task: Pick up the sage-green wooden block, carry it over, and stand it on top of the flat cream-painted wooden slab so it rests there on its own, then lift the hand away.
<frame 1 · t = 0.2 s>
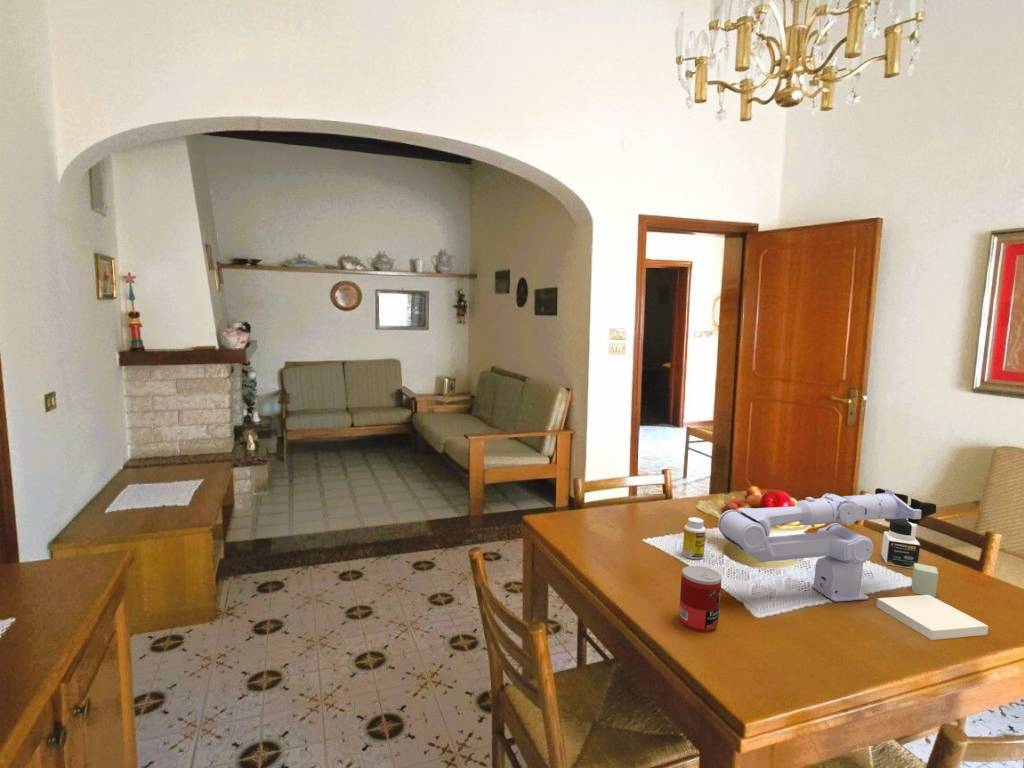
hand: (920, 503, 141), 21 cm above the table, tool horizontal, fingers open, 7 cm apart
medicine bottle: (898, 563, 160), on the table
cream slab: (929, 622, 128), on the table
sage block: (923, 591, 142), on the table
supplement bottle: (693, 556, 159), on the table
canned food: (697, 624, 124), on the table
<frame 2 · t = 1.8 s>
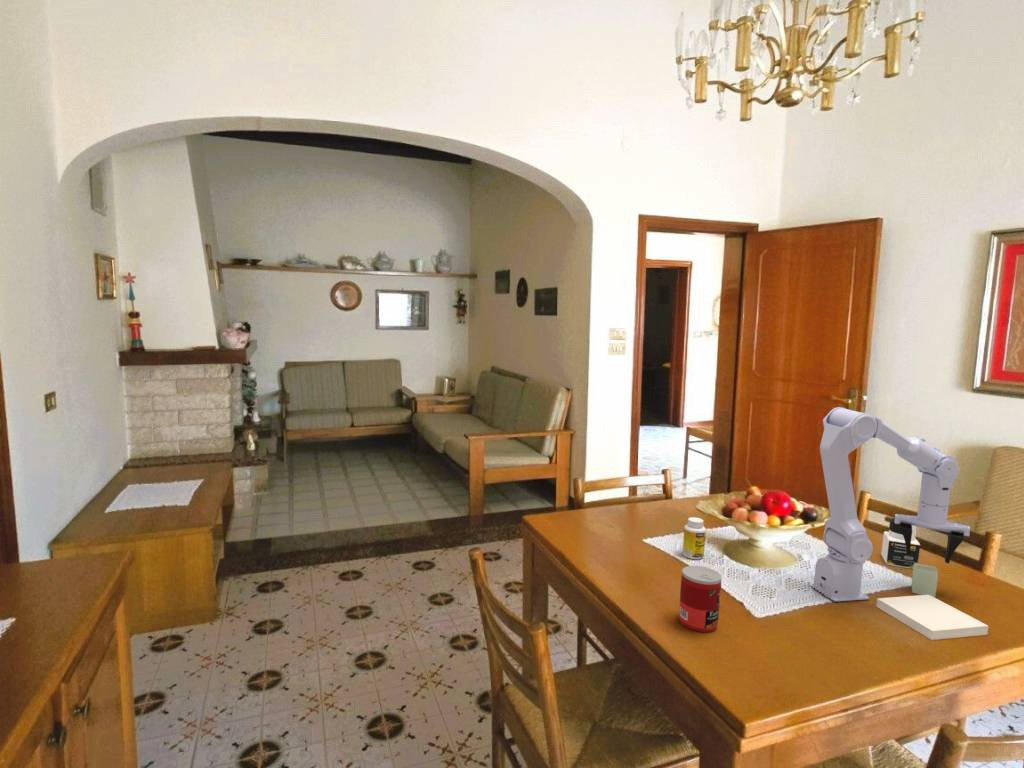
hand: (927, 557, 141), 9 cm above the table, tool pointing down, fingers open, 7 cm apart
nothing on the table moved.
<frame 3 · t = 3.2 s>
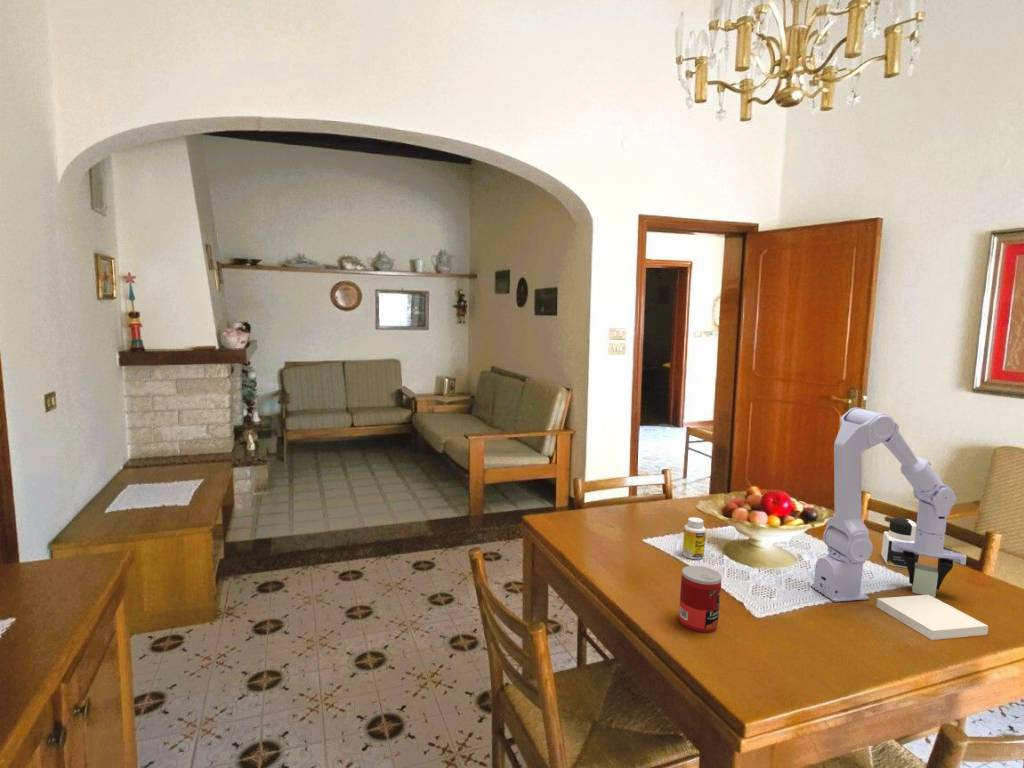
hand: (923, 585, 142), 2 cm above the table, tool pointing down, fingers closed on sage block, 4 cm apart
sage block: (923, 591, 142), on the table, touching gripper
everything else where it was.
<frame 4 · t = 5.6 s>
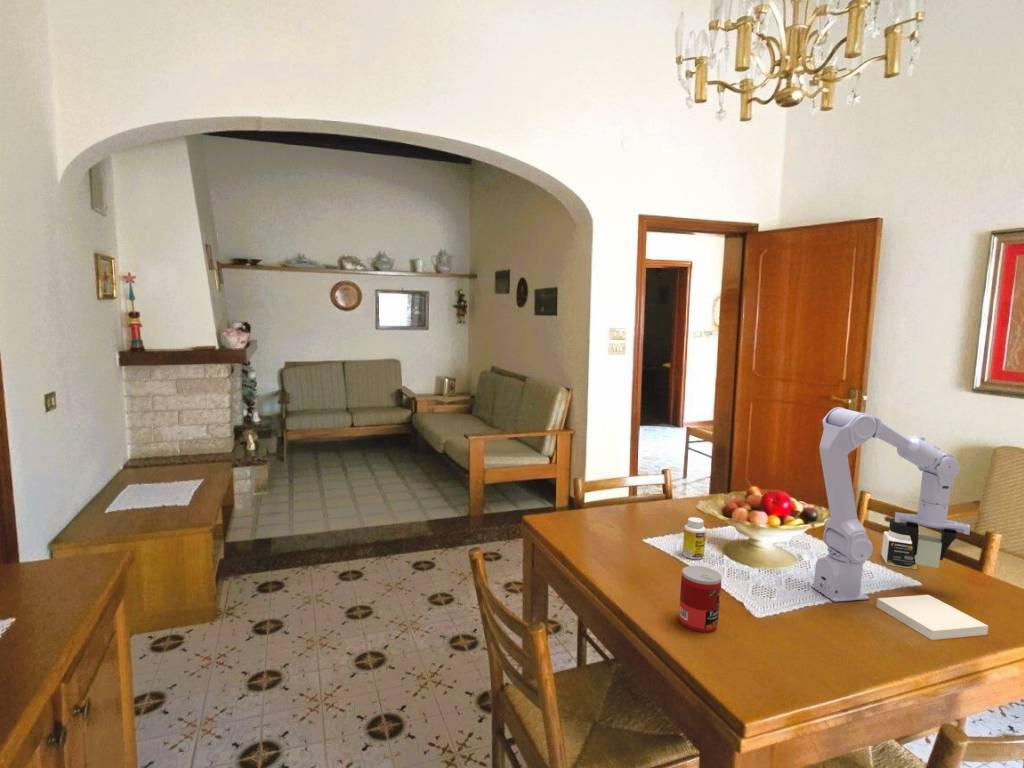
hand: (927, 556, 141), 9 cm above the table, tool pointing down, fingers closed on sage block, 4 cm apart
sage block: (926, 562, 141), point 7 cm above the table, touching gripper
everything else where it was.
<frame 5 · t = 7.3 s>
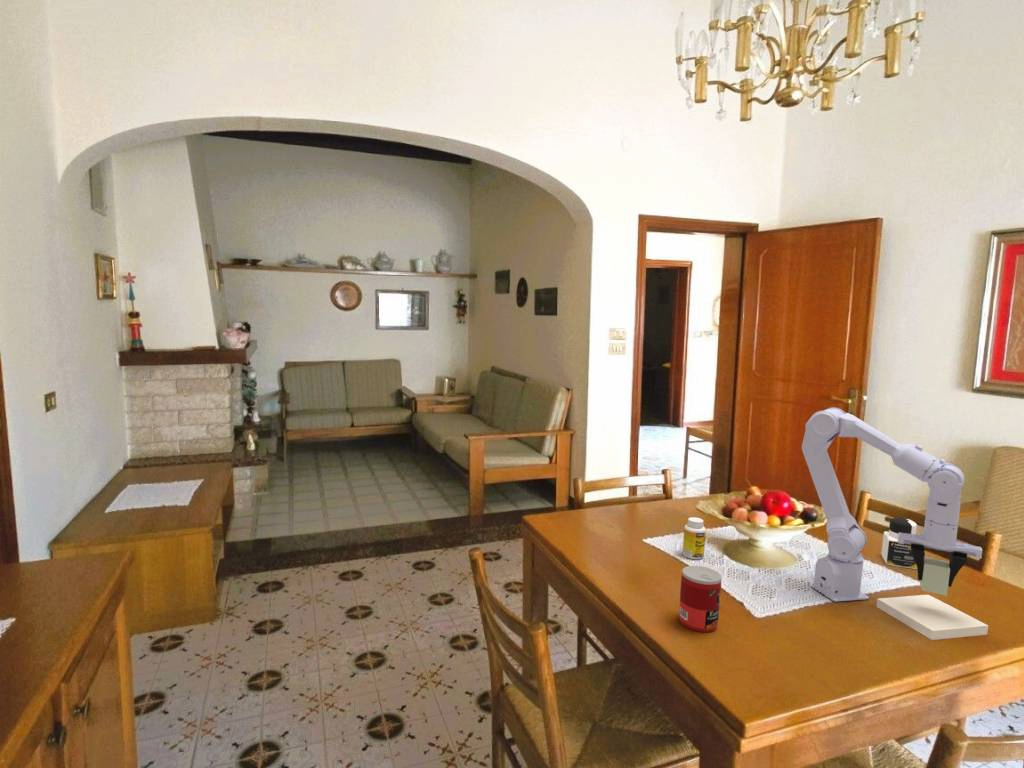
hand: (934, 581, 127), 9 cm above the table, tool pointing down, fingers closed on sage block, 4 cm apart
sage block: (933, 589, 128), point 7 cm above the table, touching gripper
everything else where it was.
when the fingers open (6 cm above the table, at t = 8.4 s): sage block drops 2 cm, resting on cream slab.
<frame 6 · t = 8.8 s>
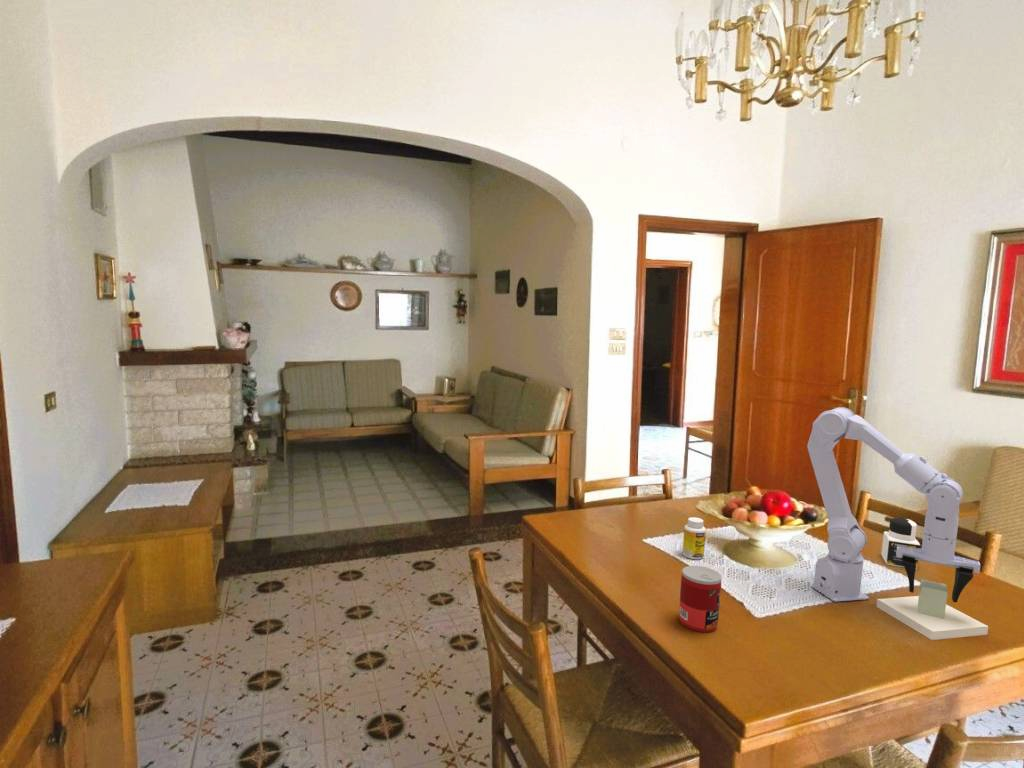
hand: (932, 595, 128), 6 cm above the table, tool pointing down, fingers open, 7 cm apart
cream slab: (929, 623, 128), on the table, touching sage block
sage block: (930, 611, 128), point 2 cm above the table, touching cream slab
everything else where it was.
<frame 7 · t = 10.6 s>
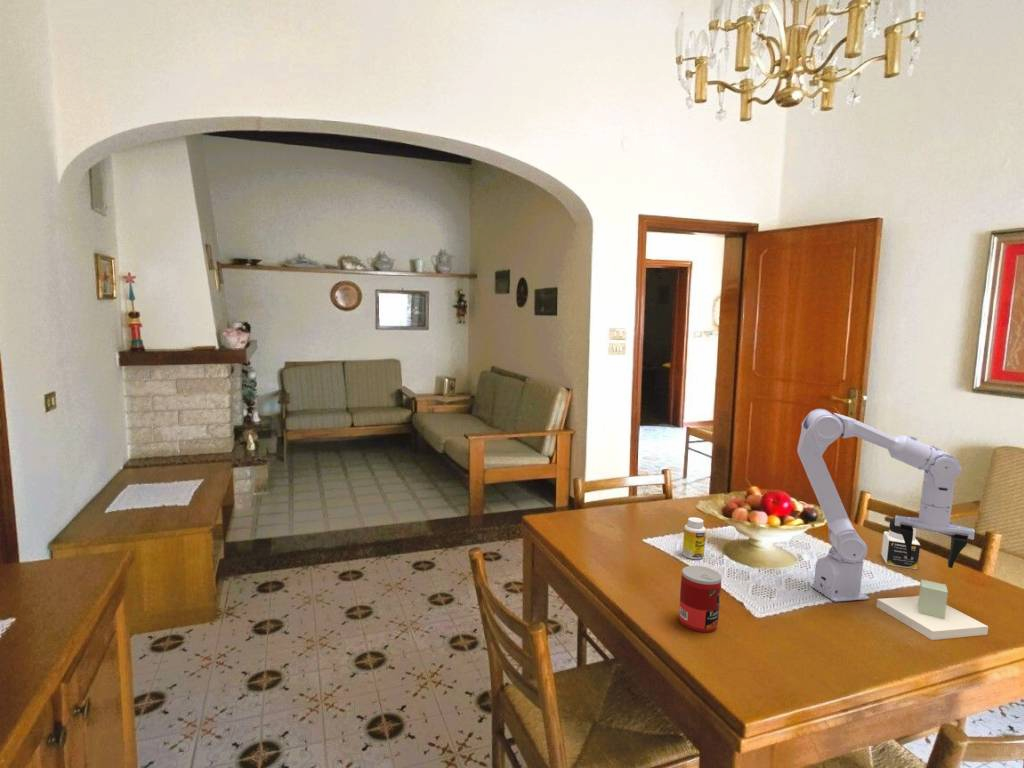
hand: (929, 562, 134), 10 cm above the table, tool pointing down, fingers open, 7 cm apart
nothing on the table moved.
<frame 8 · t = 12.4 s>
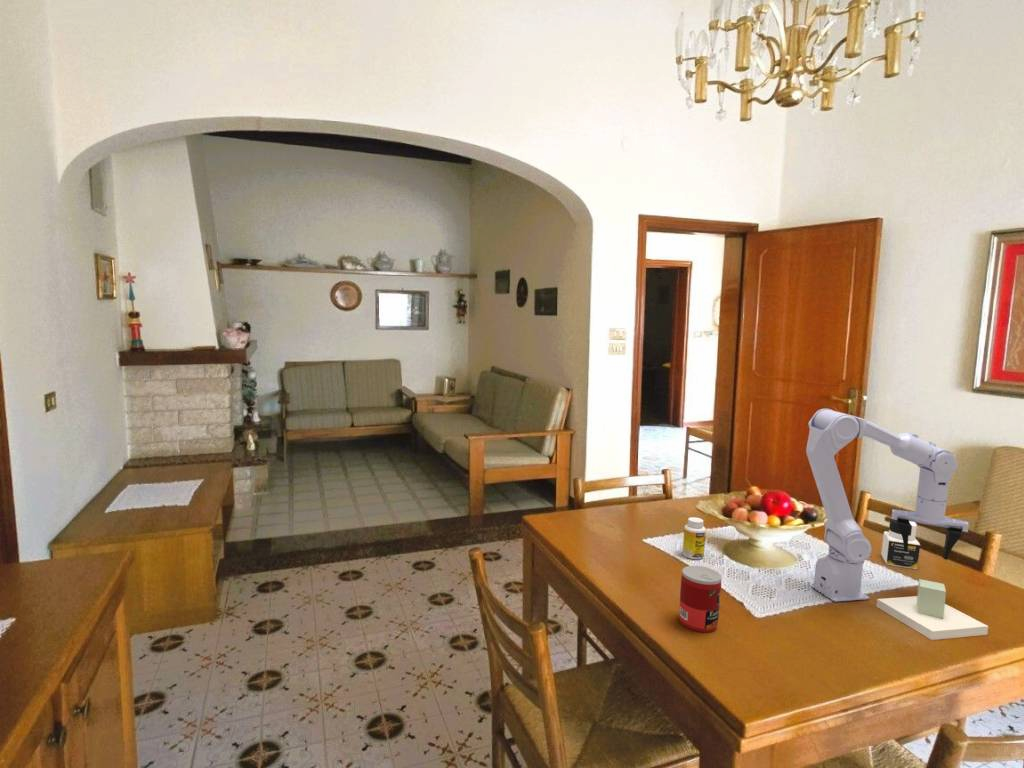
hand: (924, 554, 139), 10 cm above the table, tool pointing down, fingers open, 7 cm apart
cream slab: (929, 622, 128), on the table
sage block: (929, 611, 128), point 2 cm above the table
everything else where it was.
at the end: sage block inside the target area on the cream slab (0.2 cm from its centre), point 2.5 cm above the cream slab's base; sage block tilted 1°; the gripper is holding nothing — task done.
